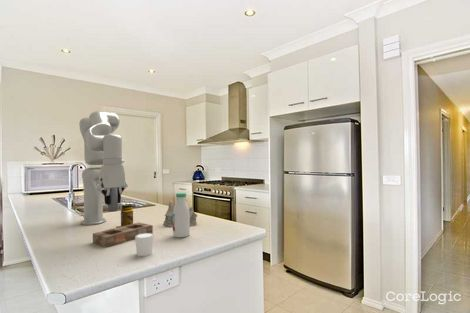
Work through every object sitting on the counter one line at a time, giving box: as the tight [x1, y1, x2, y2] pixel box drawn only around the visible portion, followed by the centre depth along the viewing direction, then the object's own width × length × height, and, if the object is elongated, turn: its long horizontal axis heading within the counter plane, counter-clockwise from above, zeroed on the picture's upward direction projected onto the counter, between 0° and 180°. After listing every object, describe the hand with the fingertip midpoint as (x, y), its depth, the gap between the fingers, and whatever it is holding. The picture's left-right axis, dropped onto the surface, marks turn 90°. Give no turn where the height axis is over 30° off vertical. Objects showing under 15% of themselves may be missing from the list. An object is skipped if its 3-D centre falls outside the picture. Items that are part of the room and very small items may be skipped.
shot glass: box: [134, 233, 155, 257], centre depth 99 cm, size 7×7×7 cm
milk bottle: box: [172, 192, 191, 238], centre depth 121 cm, size 8×8×20 cm
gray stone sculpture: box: [163, 201, 198, 228], centre depth 142 cm, size 16×16×15 cm
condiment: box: [115, 203, 134, 228], centre depth 137 cm, size 7×8×12 cm
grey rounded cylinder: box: [107, 186, 119, 213], centre depth 114 cm, size 4×4×12 cm
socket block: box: [92, 222, 154, 248], centre depth 118 cm, size 11×23×4 cm, turn 146°
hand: (112, 203), depth 114 cm, fingers closed on grey rounded cylinder, 4 cm apart
